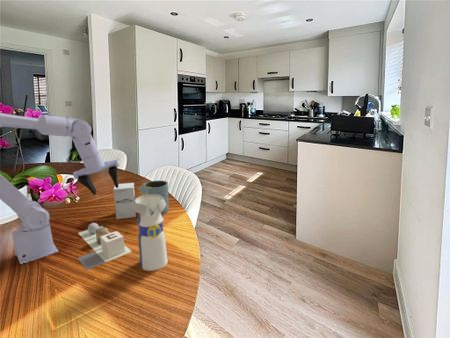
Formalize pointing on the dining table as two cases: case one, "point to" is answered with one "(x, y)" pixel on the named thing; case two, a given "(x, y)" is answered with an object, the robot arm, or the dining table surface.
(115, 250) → the letter cube
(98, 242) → the cork
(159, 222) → the cream belted figurine
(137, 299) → the dining table surface
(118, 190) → the supplement box
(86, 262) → the slate mat
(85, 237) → the tile set
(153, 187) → the grey plant pot
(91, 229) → the grey ball
